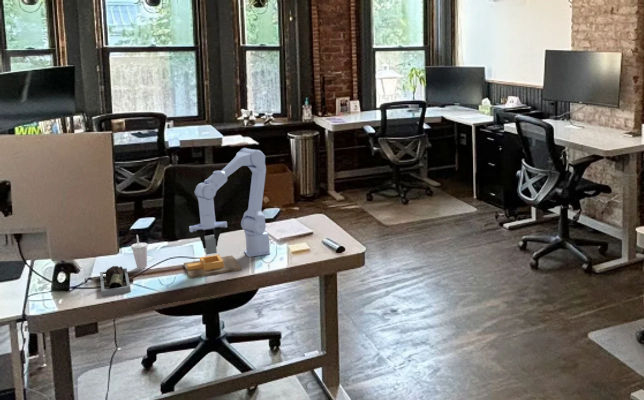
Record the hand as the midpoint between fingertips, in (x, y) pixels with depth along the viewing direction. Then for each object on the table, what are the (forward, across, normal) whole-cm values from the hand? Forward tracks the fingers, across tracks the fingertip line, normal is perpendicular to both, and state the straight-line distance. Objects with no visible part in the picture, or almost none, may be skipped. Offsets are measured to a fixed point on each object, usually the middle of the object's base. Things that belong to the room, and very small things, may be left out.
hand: (210, 246), depth 251 cm
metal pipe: (+9, +37, +1) cm, 38 cm away
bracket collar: (+8, +3, 0) cm, 8 cm away
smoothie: (+9, +26, -13) cm, 30 cm away
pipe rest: (+9, +37, +1) cm, 38 cm away
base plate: (+9, 0, 0) cm, 9 cm away
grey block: (+2, 0, 0) cm, 2 cm away
